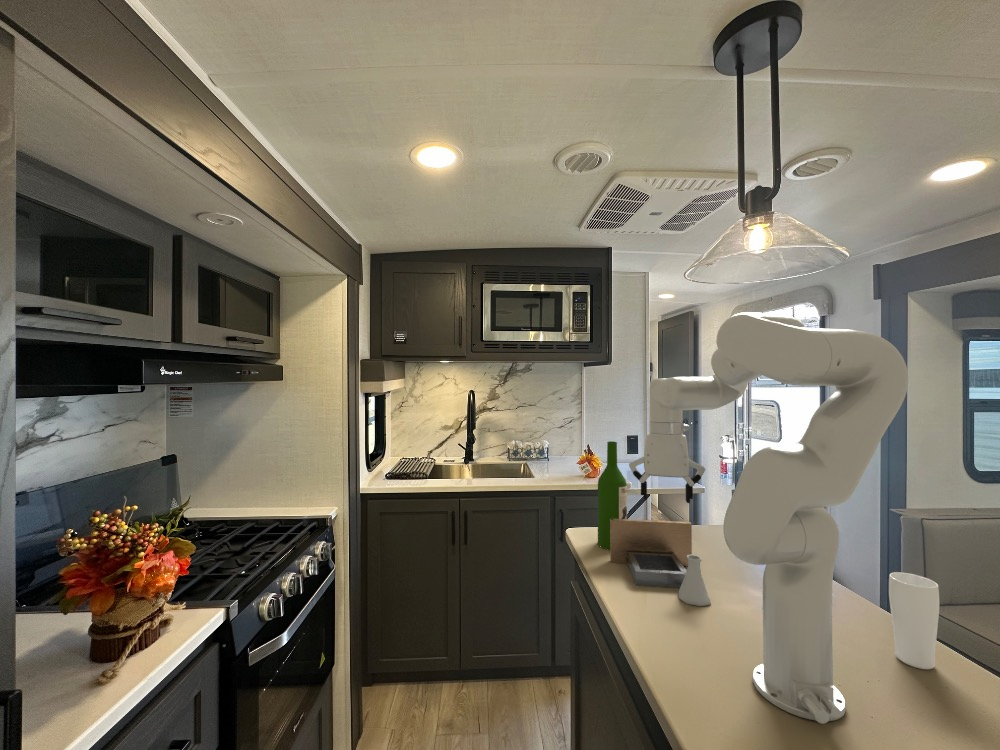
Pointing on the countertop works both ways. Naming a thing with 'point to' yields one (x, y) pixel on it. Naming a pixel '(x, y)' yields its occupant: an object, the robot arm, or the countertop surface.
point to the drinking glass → (914, 618)
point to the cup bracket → (652, 550)
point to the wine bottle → (610, 496)
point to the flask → (694, 584)
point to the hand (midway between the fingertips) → (666, 500)
